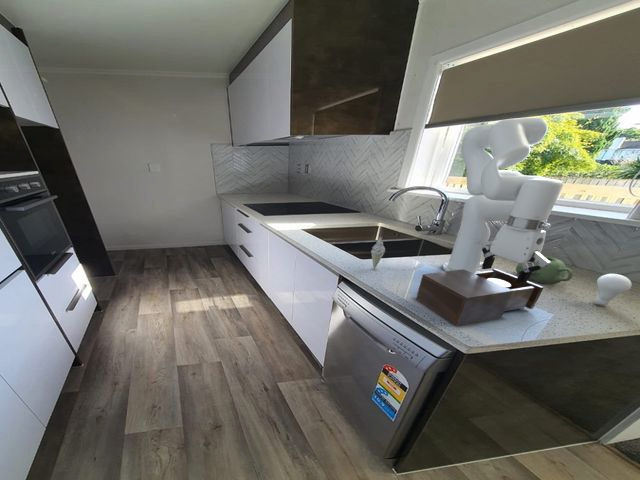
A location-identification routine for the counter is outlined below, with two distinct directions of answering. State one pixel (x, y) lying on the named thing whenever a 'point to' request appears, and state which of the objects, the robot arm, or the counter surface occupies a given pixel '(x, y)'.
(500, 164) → the robot arm
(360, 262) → the counter surface
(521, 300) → the drawer
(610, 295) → the lightbulb
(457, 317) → the wooden box
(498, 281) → the tin
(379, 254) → the ice cream cone
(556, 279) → the green rounded ceramic pot
